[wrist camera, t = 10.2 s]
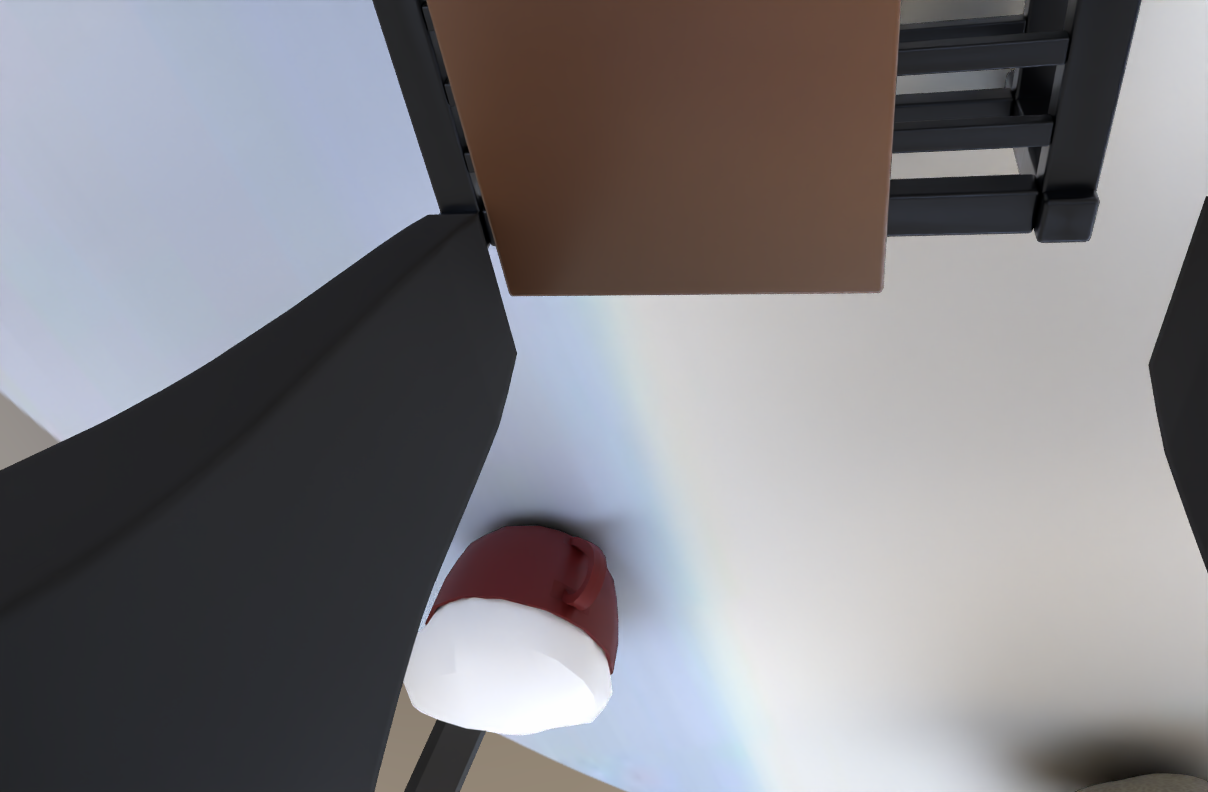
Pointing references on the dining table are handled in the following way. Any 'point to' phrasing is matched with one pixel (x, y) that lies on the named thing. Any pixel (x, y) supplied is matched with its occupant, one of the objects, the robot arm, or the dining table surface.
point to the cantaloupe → (1152, 784)
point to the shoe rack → (899, 116)
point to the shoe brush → (679, 141)
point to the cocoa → (512, 647)
